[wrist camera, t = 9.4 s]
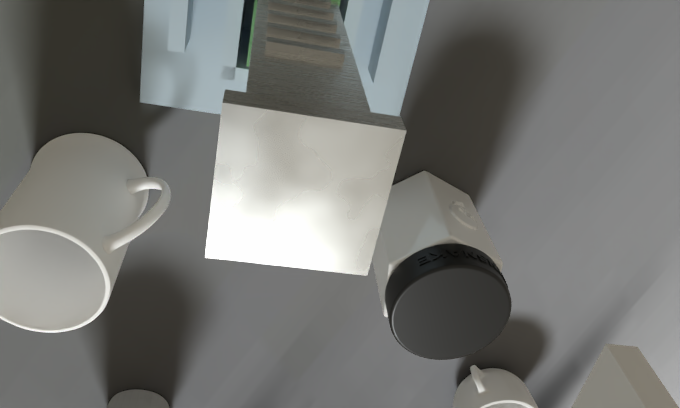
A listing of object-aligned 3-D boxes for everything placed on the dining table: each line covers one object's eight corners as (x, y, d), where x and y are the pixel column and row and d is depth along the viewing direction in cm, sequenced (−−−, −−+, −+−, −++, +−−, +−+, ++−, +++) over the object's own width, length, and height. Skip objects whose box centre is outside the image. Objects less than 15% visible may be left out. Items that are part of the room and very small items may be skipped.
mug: (164, 106, 46) (130, 190, 35) (206, 205, 50) (187, 304, 40) (9, 149, 46) (-69, 243, 36) (64, 242, 51) (9, 350, 41)
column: (239, 57, 37) (204, 257, 20) (250, -37, 34) (222, 102, 17) (328, 72, 38) (367, 275, 21) (346, -19, 35) (406, 130, 18)
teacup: (533, 395, 64) (552, 440, 60) (461, 422, 66) (475, 468, 61) (503, 329, 59) (522, 372, 55) (426, 359, 61) (438, 404, 56)
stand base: (142, 95, 45) (114, 152, 37) (156, -202, 36) (123, -207, 29) (390, 133, 48) (411, 193, 40) (459, -133, 39) (502, -121, 32)
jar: (491, 204, 52) (543, 298, 42) (431, 274, 55) (465, 378, 45) (402, 153, 49) (434, 242, 39) (344, 231, 52) (360, 331, 42)
